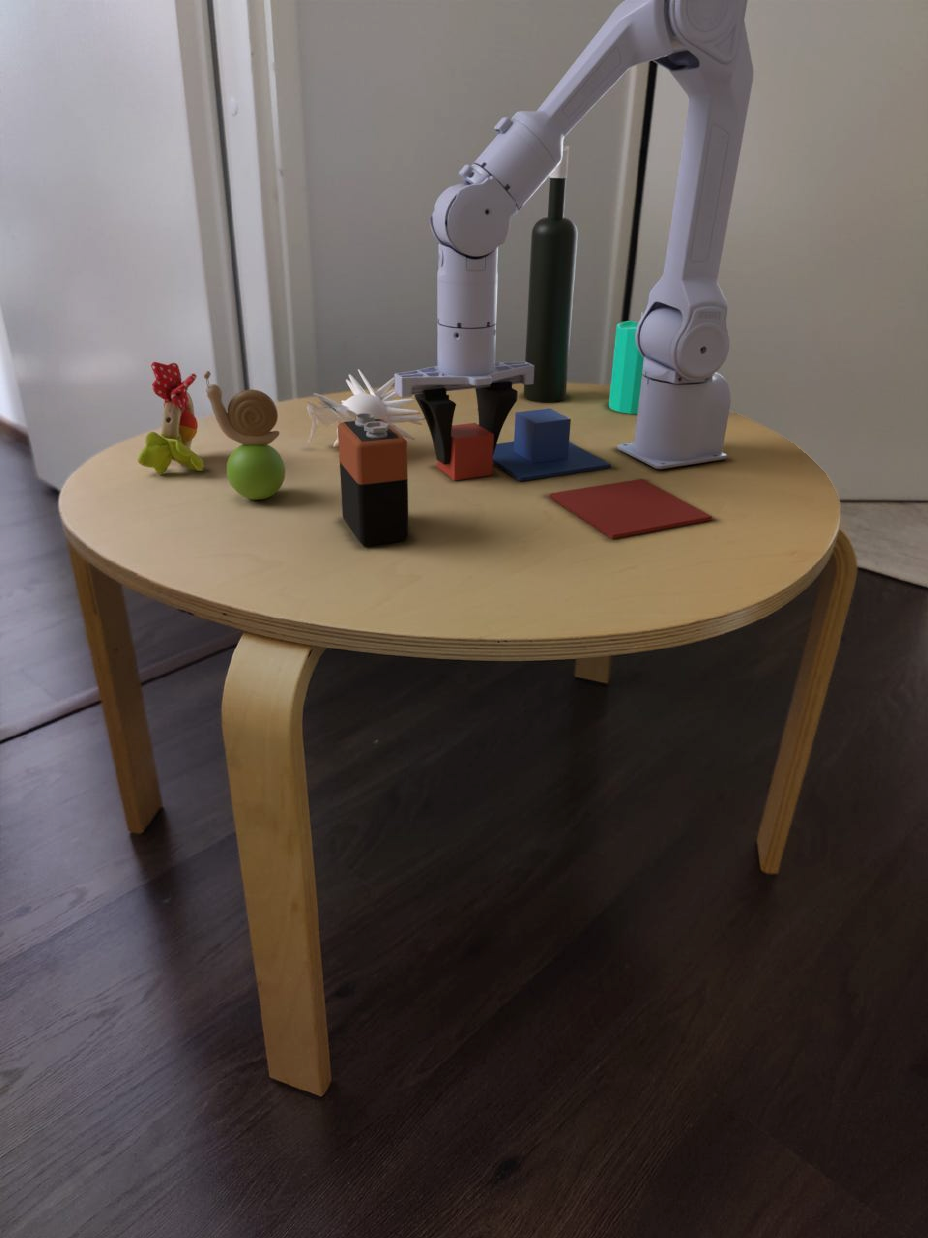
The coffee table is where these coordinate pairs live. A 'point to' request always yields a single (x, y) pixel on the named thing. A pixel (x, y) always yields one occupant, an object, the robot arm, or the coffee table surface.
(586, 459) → the blue mat
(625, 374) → the candle
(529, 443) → the blue block
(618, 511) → the red mat
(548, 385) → the wine bottle
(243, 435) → the snail figurine
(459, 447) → the red block
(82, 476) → the coffee table surface
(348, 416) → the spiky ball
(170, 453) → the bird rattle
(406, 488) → the battery
